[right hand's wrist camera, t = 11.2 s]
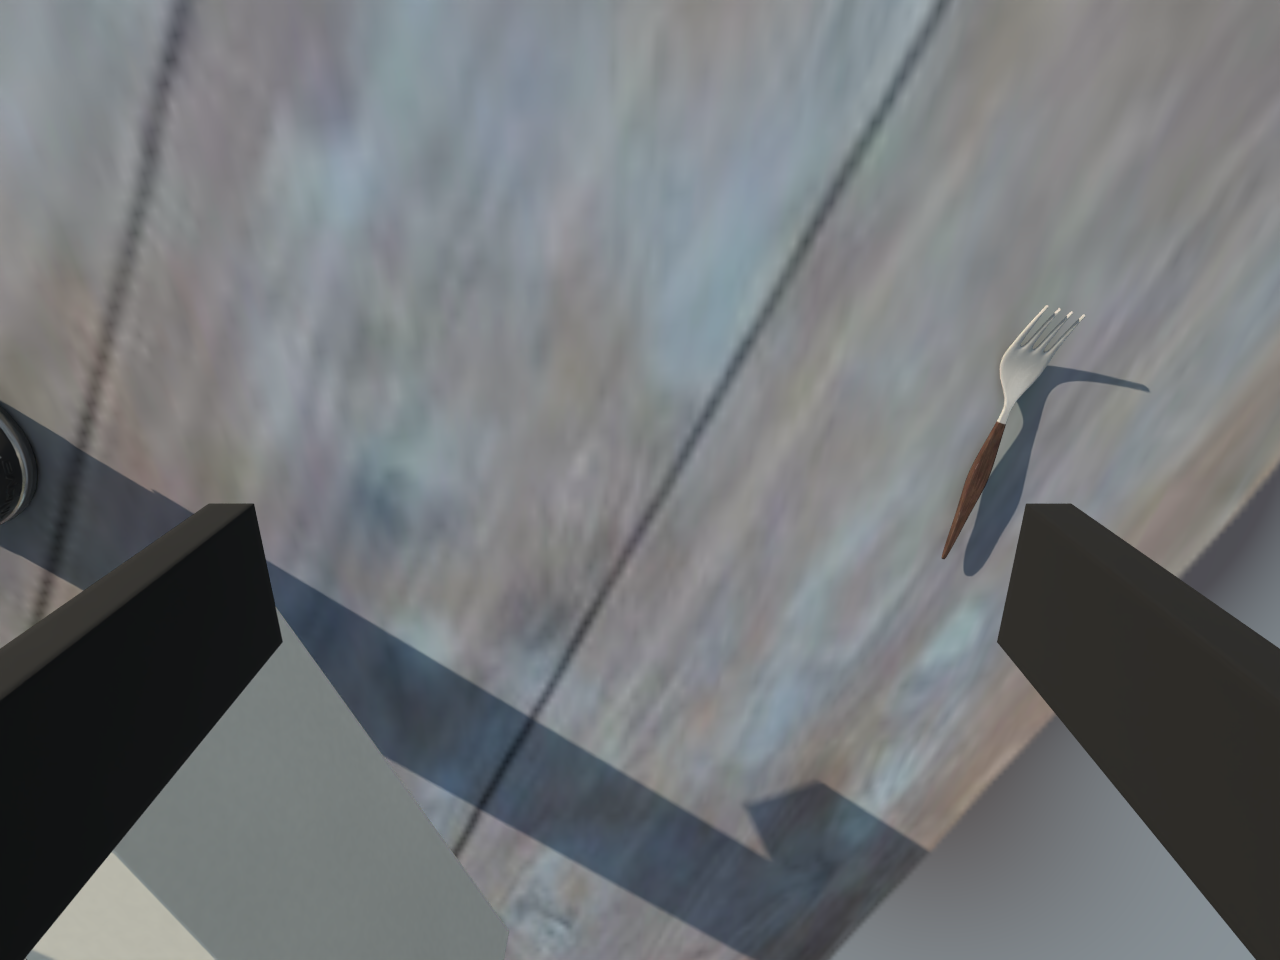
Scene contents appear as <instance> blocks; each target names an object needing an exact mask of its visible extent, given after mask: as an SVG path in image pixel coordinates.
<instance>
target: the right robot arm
mask: <svg viewBox="0 0 1280 960" xmlns="http://www.w3.org/2000/svg"><path fill="white" fill-rule="evenodd" d="M282 642H283V640H282V636H281V631H280V626H279V621H278V616H277V612H276V607H275V602H274V597H273V593H272V588H271V583H270V578H269V573H268V569H267V564H266V559H265V554H264V549H263V545H262V540H261V535H260V530H259V526H258V521H257V516H256V511H255V506H254V504H208V505H206V506H205V507H203V508H202V509H201V510H199V511H198V512H196V513H195V514H193V515H192V516H191V517H189V518H188V519H186V520H185V521H183V522H182V523H180V524H179V525H178V526H176V527H175V528H173V529H172V530H170V531H169V532H168V533H166V534H165V535H163V536H162V537H160V538H159V539H157V540H156V541H155V542H153V543H152V544H150V545H149V546H147V547H146V548H145V549H143V550H142V551H140V552H139V553H137V554H136V555H134V556H133V557H132V558H130V559H129V560H127V561H126V562H124V563H123V564H121V565H120V566H119V567H117V568H116V569H114V570H113V571H111V572H110V573H109V574H107V575H106V576H104V577H103V578H101V579H100V580H98V581H97V582H96V583H94V584H93V585H91V586H90V587H88V588H87V589H86V590H84V591H83V592H81V593H80V594H78V595H77V596H75V597H74V598H73V599H71V600H70V601H68V602H67V603H65V604H64V605H63V606H61V607H60V608H58V609H57V610H55V611H54V612H52V613H51V614H50V615H48V616H47V617H45V618H44V619H42V620H41V621H40V622H38V623H37V624H35V625H34V626H32V627H31V628H29V629H28V630H27V631H25V632H24V633H22V634H21V635H19V636H18V637H17V638H15V639H14V640H12V641H11V642H9V643H8V644H6V645H5V646H4V647H2V648H1V649H0V960H24V959H25V958H26V957H27V955H28V954H29V953H30V952H31V950H32V949H33V948H34V947H35V945H36V944H37V943H38V942H39V941H40V939H41V938H42V937H43V936H44V934H45V933H46V932H47V931H48V930H49V928H50V927H51V926H52V925H53V923H54V922H55V921H56V920H57V918H58V917H59V916H60V915H61V914H62V912H63V911H64V910H65V909H66V907H67V906H68V905H69V904H70V903H71V901H72V900H73V899H74V898H75V896H76V895H77V894H78V893H79V891H80V890H81V889H82V888H83V887H84V885H85V884H86V883H87V882H88V880H89V879H90V878H91V877H92V876H93V874H94V873H95V872H96V871H97V869H98V868H99V867H100V866H101V864H102V863H103V862H104V861H105V860H106V858H107V857H108V856H109V855H110V853H111V852H112V851H113V850H114V849H115V847H116V846H117V845H118V844H119V842H120V841H121V840H122V839H123V837H124V836H125V835H126V834H127V833H128V831H129V830H130V829H131V828H132V826H133V825H134V824H135V823H136V822H137V820H138V819H139V818H140V817H141V815H142V814H143V813H144V812H145V811H146V809H147V808H148V807H149V806H150V804H151V803H152V802H153V801H154V799H155V798H156V797H157V796H158V795H159V793H160V792H161V791H162V790H163V788H164V787H165V786H166V785H167V784H168V782H169V781H170V780H171V779H172V777H173V776H174V775H175V774H176V772H177V771H178V770H179V769H180V768H181V766H182V765H183V764H184V763H185V761H186V760H187V759H188V758H189V757H190V755H191V754H192V753H193V752H194V750H195V749H196V748H197V747H198V745H199V744H200V743H201V742H202V741H203V739H204V738H205V737H206V736H207V734H208V733H209V732H210V731H211V730H212V728H213V727H214V726H215V725H216V723H217V722H218V721H219V720H220V718H221V717H222V716H223V715H224V714H225V712H226V711H227V710H228V709H229V707H230V706H231V705H232V704H233V703H234V701H235V700H236V699H237V698H238V696H239V695H240V694H241V693H242V692H243V690H244V689H245V688H246V687H247V685H248V684H249V683H250V682H251V680H252V679H253V678H254V677H255V676H256V674H257V673H258V672H259V671H260V669H261V668H262V667H263V666H264V665H265V663H266V662H267V661H268V660H269V658H270V657H271V656H272V655H273V653H274V652H275V651H276V650H277V649H278V647H279V646H280V645H281V644H282ZM997 642H998V644H999V645H1000V646H1001V647H1002V649H1003V650H1004V651H1005V652H1006V653H1007V655H1008V656H1009V657H1010V658H1011V660H1012V661H1013V662H1014V663H1015V665H1016V666H1017V667H1018V668H1019V669H1020V671H1021V672H1022V673H1023V674H1024V676H1025V677H1026V678H1027V679H1028V680H1029V682H1030V683H1031V684H1032V685H1033V687H1034V688H1035V689H1036V690H1037V692H1038V693H1039V694H1040V695H1041V696H1042V698H1043V699H1044V700H1045V701H1046V703H1047V704H1048V705H1049V706H1050V707H1051V709H1052V710H1053V711H1054V712H1055V714H1056V715H1057V716H1058V717H1059V718H1060V720H1061V721H1062V722H1063V723H1064V725H1065V726H1066V727H1067V728H1068V730H1069V731H1070V732H1071V733H1072V734H1073V736H1074V737H1075V738H1076V739H1077V741H1078V742H1079V743H1080V744H1081V745H1082V747H1083V748H1084V749H1085V750H1086V752H1087V753H1088V754H1089V755H1090V756H1091V758H1092V759H1093V760H1094V761H1095V763H1096V764H1097V765H1098V766H1099V767H1100V769H1101V770H1102V771H1103V772H1104V774H1105V775H1106V776H1107V777H1108V779H1109V780H1110V781H1111V782H1112V784H1113V785H1114V786H1115V787H1116V788H1117V790H1118V791H1119V792H1120V793H1121V795H1122V796H1123V797H1124V798H1125V799H1126V801H1127V802H1128V803H1129V804H1130V806H1131V807H1132V808H1133V809H1134V811H1135V812H1136V813H1137V814H1138V815H1139V817H1140V818H1141V819H1142V820H1143V822H1144V823H1145V824H1146V825H1147V826H1148V828H1149V829H1150V830H1151V831H1152V833H1153V834H1154V835H1155V836H1156V837H1157V839H1158V840H1159V841H1160V842H1161V844H1162V845H1163V846H1164V847H1165V849H1166V850H1167V851H1168V852H1169V853H1170V855H1171V856H1172V857H1173V858H1174V860H1175V861H1176V862H1177V863H1178V864H1179V866H1180V867H1181V868H1182V869H1183V871H1184V872H1185V873H1186V874H1187V876H1188V877H1189V878H1190V879H1191V880H1192V882H1193V883H1194V884H1195V885H1196V887H1197V888H1198V889H1199V890H1200V891H1201V893H1202V894H1203V895H1204V896H1205V898H1206V899H1207V900H1208V901H1209V902H1210V904H1211V905H1212V906H1213V907H1214V909H1215V910H1216V911H1217V912H1218V914H1219V915H1220V916H1221V917H1222V918H1223V920H1224V921H1225V922H1226V923H1227V925H1228V926H1229V927H1230V928H1231V930H1232V931H1233V932H1234V933H1235V934H1236V936H1237V937H1238V938H1239V939H1240V941H1241V942H1242V943H1243V944H1244V945H1245V947H1246V948H1247V949H1248V950H1249V952H1250V953H1251V954H1252V955H1253V956H1254V958H1255V959H1256V960H1280V649H1279V648H1278V647H1276V646H1275V645H1273V644H1272V643H1271V642H1269V641H1268V640H1266V639H1265V638H1263V637H1262V636H1261V635H1259V634H1258V633H1256V632H1255V631H1253V630H1252V629H1251V628H1249V627H1248V626H1246V625H1245V624H1243V623H1242V622H1240V621H1239V620H1238V619H1236V618H1235V617H1233V616H1232V615H1230V614H1229V613H1227V612H1226V611H1225V610H1223V609H1222V608H1220V607H1219V606H1217V605H1216V604H1215V603H1213V602H1212V601H1210V600H1209V599H1207V598H1206V597H1205V596H1203V595H1202V594H1200V593H1199V592H1197V591H1196V590H1194V589H1193V588H1192V587H1190V586H1189V585H1187V584H1186V583H1184V582H1183V581H1182V580H1180V579H1179V578H1177V577H1176V576H1174V575H1173V574H1171V573H1170V572H1169V571H1167V570H1166V569H1164V568H1163V567H1161V566H1160V565H1159V564H1157V563H1156V562H1154V561H1153V560H1151V559H1150V558H1148V557H1147V556H1146V555H1144V554H1143V553H1141V552H1140V551H1138V550H1137V549H1135V548H1134V547H1133V546H1131V545H1130V544H1128V543H1127V542H1125V541H1124V540H1123V539H1121V538H1120V537H1118V536H1117V535H1115V534H1114V533H1112V532H1111V531H1110V530H1108V529H1107V528H1105V527H1104V526H1102V525H1101V524H1100V523H1098V522H1097V521H1095V520H1094V519H1092V518H1091V517H1089V516H1088V515H1087V514H1085V513H1084V512H1082V511H1081V510H1079V509H1078V508H1077V507H1075V506H1074V505H1072V504H1026V506H1025V511H1024V516H1023V521H1022V526H1021V530H1020V535H1019V540H1018V545H1017V549H1016V554H1015V559H1014V564H1013V569H1012V573H1011V578H1010V583H1009V588H1008V592H1007V597H1006V602H1005V607H1004V612H1003V616H1002V621H1001V626H1000V631H999V636H998V640H997Z"/></svg>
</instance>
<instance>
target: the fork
mask: <svg viewBox="0 0 1280 960" xmlns="http://www.w3.org/2000/svg"><path fill="white" fill-rule="evenodd" d="M1048 307H1049V306H1048V305H1046V306H1045V307H1044V308H1043V309H1042V311H1041V312H1040V313H1039V314H1038V315H1037V316H1036V317H1035V318H1034V319H1033V320H1032V321H1031V322H1030V324H1029V325H1028V326H1027V327H1026V328H1025V329H1024V330H1023V331H1022V333H1021V334H1020V335H1019V336H1018V337H1017V339H1016V340H1015V341H1014V342H1013V344H1012V345H1011V346H1010V347H1009V348H1008V350H1007V351H1006V353H1005V354H1004V356H1003V358H1002V360H1001V364H1000V379H1001V383H1002V388H1003V392H1004V399H1005V403H1004V407H1003V410H1002V412H1001V414H1000V416H999V418H998V420H997V422H996V424H995V425H994V427H993V429H992V431H991V432H990V434H989V436H988V438H987V439H986V441H985V443H984V445H983V446H982V448H981V450H980V452H979V454H978V455H977V457H976V459H975V461H974V463H973V465H972V467H971V469H970V471H969V474H968V476H967V479H966V482H965V485H964V488H963V491H962V494H961V498H960V501H959V504H958V508H957V511H956V514H955V517H954V520H953V523H952V526H951V529H950V532H949V535H948V538H947V541H946V544H945V547H944V550H943V554H942V559H945V558H946V557H947V555H948V553H949V552H950V550H951V548H952V546H953V545H954V543H955V541H956V539H957V537H958V535H959V533H960V532H961V530H962V528H963V526H964V524H965V522H966V520H967V518H968V517H969V515H970V513H971V511H972V509H973V508H974V506H975V504H976V502H977V500H978V499H979V497H980V495H981V493H982V491H983V489H984V487H985V485H986V483H987V481H988V478H989V476H990V473H991V470H992V467H993V464H994V461H995V458H996V455H997V451H998V448H999V445H1000V441H1001V438H1002V435H1003V431H1004V428H1005V425H1006V422H1007V419H1008V416H1009V413H1010V411H1011V409H1012V407H1013V405H1014V404H1015V402H1016V401H1017V400H1018V399H1019V398H1020V396H1021V395H1022V394H1023V393H1024V392H1025V391H1026V390H1027V389H1028V388H1029V387H1030V386H1031V385H1032V384H1033V383H1034V382H1035V381H1036V380H1037V378H1038V377H1039V376H1040V375H1041V373H1042V372H1043V371H1044V369H1045V368H1046V366H1047V365H1048V363H1049V362H1050V360H1051V358H1052V357H1053V355H1054V354H1055V352H1056V351H1057V350H1058V348H1059V347H1060V346H1061V344H1062V343H1063V342H1064V341H1065V339H1066V338H1067V337H1068V336H1069V334H1070V333H1071V332H1072V331H1073V330H1074V328H1075V327H1076V326H1077V325H1078V324H1079V323H1080V321H1081V320H1082V319H1083V318H1084V317H1085V314H1083V315H1082V316H1081V317H1080V318H1079V319H1078V320H1077V321H1076V322H1075V323H1074V324H1073V325H1072V326H1071V327H1070V328H1069V329H1068V330H1067V331H1066V332H1065V333H1064V334H1063V335H1062V337H1061V338H1060V339H1059V340H1058V341H1057V342H1056V343H1055V344H1054V345H1053V346H1052V347H1051V348H1050V349H1049V350H1048V351H1046V352H1044V349H1045V347H1046V346H1047V344H1048V343H1049V342H1050V340H1051V339H1052V338H1053V337H1054V335H1055V334H1056V333H1057V332H1058V330H1059V329H1060V328H1061V327H1062V325H1063V324H1064V323H1065V322H1066V321H1067V319H1068V318H1069V317H1070V316H1071V315H1072V314H1073V312H1072V311H1071V312H1070V313H1069V314H1068V315H1067V316H1066V317H1065V318H1064V319H1063V320H1062V321H1061V322H1060V323H1059V324H1058V325H1057V326H1056V327H1055V328H1054V329H1053V331H1052V332H1051V333H1050V334H1049V335H1048V336H1047V337H1046V338H1045V339H1044V340H1043V341H1042V343H1041V344H1040V345H1039V346H1038V347H1037V348H1035V349H1032V347H1033V345H1034V343H1035V342H1036V340H1037V339H1038V338H1039V336H1040V335H1041V334H1042V332H1043V331H1044V330H1045V329H1046V327H1047V326H1048V325H1049V324H1050V322H1051V321H1052V320H1053V319H1054V317H1055V316H1056V315H1057V314H1058V313H1059V311H1060V308H1059V309H1058V310H1057V311H1056V312H1055V313H1054V314H1053V315H1052V316H1051V317H1050V318H1049V319H1048V320H1047V321H1046V322H1045V323H1044V324H1043V325H1042V327H1041V328H1040V329H1039V330H1038V331H1037V332H1036V333H1035V334H1034V335H1033V337H1032V338H1031V339H1030V340H1029V341H1028V342H1027V343H1026V344H1025V345H1023V346H1021V342H1022V341H1023V339H1024V338H1025V336H1026V335H1027V334H1028V332H1029V331H1030V330H1031V328H1032V327H1033V326H1034V324H1035V323H1036V322H1037V320H1038V319H1039V318H1040V316H1041V315H1042V314H1043V313H1044V312H1045V310H1046V309H1047V308H1048Z"/></svg>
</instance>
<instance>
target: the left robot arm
mask: <svg viewBox="0 0 1280 960" xmlns="http://www.w3.org/2000/svg"><path fill="white" fill-rule="evenodd" d="M36 485H37V466H36V461H35V456H34V453H33V451H32V448H31V446H30V443H29V441H28V440H27V438H26V436H25V434H24V433H23V431H22V430H21V428H20V427H19V426H18V424H17V423H16V422H15V420H14V419H13V418H12V417H11V416H10V415H9V414H8V413H7V412H6V411H5V410H4V409H3V408H2V407H1V406H0V525H1V524H3V523H5V522H7V521H9V520H11V519H13V518H14V517H16V516H17V515H19V514H20V513H21V512H22V511H23V510H24V509H25V508H26V507H27V506H28V504H29V503H30V502H31V500H32V498H33V496H34V493H35V490H36Z"/></svg>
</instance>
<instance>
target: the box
mask: <svg viewBox="0 0 1280 960" xmlns="http://www.w3.org/2000/svg"><path fill="white" fill-rule="evenodd" d="M275 607H276V606H275ZM276 612H277V616H278V621H279V626H280V631H281V636H282V640H283V642H282V644H281V645H280V646H279V647H278V649H277V650H276V651H275V652H274V653H273V655H272V656H271V657H270V658H269V660H268V661H267V662H266V663H265V665H264V666H263V667H262V668H261V669H260V671H259V672H258V673H257V674H256V676H255V677H254V678H253V679H252V680H251V682H250V683H249V684H248V685H247V687H246V688H245V689H244V690H243V692H242V693H241V694H240V695H239V696H238V698H237V699H236V700H235V701H234V703H233V704H232V705H231V706H230V707H229V709H228V710H227V711H226V712H225V714H224V715H223V716H222V717H221V718H220V720H219V721H218V722H217V723H216V725H215V726H214V727H213V728H212V730H211V731H210V732H209V733H208V734H207V736H206V737H205V738H204V739H203V741H202V742H201V743H200V744H199V745H198V747H197V748H196V749H195V750H194V752H193V753H192V754H191V755H190V757H189V758H188V759H187V760H186V761H185V763H184V764H183V765H182V766H181V768H180V769H179V770H178V771H177V772H176V774H175V775H174V776H173V777H172V779H171V780H170V781H169V782H168V784H167V785H166V786H165V787H164V788H163V790H162V791H161V792H160V793H159V795H158V796H157V797H156V798H155V799H154V801H153V802H152V803H151V804H150V806H149V807H148V808H147V809H146V811H145V812H144V813H143V814H142V815H141V817H140V818H139V819H138V820H137V822H136V823H135V824H134V825H133V826H132V828H131V829H130V830H129V831H128V833H127V834H126V835H125V836H124V837H123V839H122V840H121V841H120V842H119V844H118V845H117V846H116V847H115V849H114V850H113V851H112V852H111V853H110V855H109V856H108V857H107V858H106V860H105V861H104V862H103V863H102V864H101V866H100V867H99V868H98V869H97V871H96V872H95V873H94V874H93V876H92V877H91V878H90V879H89V880H88V882H87V883H86V884H85V885H84V887H83V888H82V889H81V890H80V891H79V893H78V894H77V895H76V896H75V898H74V899H73V900H72V901H71V903H70V904H69V905H68V906H67V907H66V909H65V910H64V911H63V912H62V914H61V915H60V916H59V917H58V918H57V920H56V921H55V922H54V923H53V925H52V926H51V927H50V928H49V930H48V931H47V932H46V933H45V934H44V936H43V937H42V938H41V939H40V941H39V942H38V943H37V944H36V945H35V947H34V948H33V949H32V950H31V952H30V953H29V954H28V955H27V957H26V959H27V960H504V958H505V952H506V946H507V940H508V934H509V930H508V929H507V927H506V926H505V925H504V923H503V922H502V920H501V919H500V918H499V916H498V915H497V913H496V912H495V911H494V909H493V908H492V906H491V905H490V904H489V902H488V901H487V900H486V898H485V897H484V895H483V894H482V893H481V891H480V890H479V888H478V887H477V886H476V884H475V883H474V881H473V880H472V879H471V877H470V876H469V875H468V873H467V872H466V870H465V869H464V868H463V866H462V865H461V863H460V862H459V861H458V859H457V858H456V856H455V855H454V854H453V852H452V851H451V850H450V848H449V847H448V845H447V844H446V843H445V841H444V840H443V838H442V837H441V836H440V834H439V833H438V831H437V830H436V829H435V827H434V826H433V825H432V823H431V822H430V820H429V819H428V818H427V816H426V815H425V813H424V812H423V811H422V809H421V808H420V806H419V805H418V804H417V802H416V801H415V800H414V798H413V797H412V795H411V794H410V793H409V791H408V790H407V788H406V787H405V786H404V784H403V783H402V781H401V780H400V779H399V777H398V776H397V774H396V773H395V772H394V770H393V769H392V768H391V766H390V765H389V763H388V762H387V761H386V759H385V758H384V756H383V755H382V754H381V752H380V751H379V749H378V748H377V747H376V745H375V744H374V743H373V741H372V740H371V738H370V737H369V736H368V734H367V733H366V731H365V730H364V729H363V727H362V726H361V724H360V723H359V722H358V720H357V719H356V718H355V716H354V715H353V713H352V712H351V711H350V709H349V708H348V706H347V705H346V704H345V702H344V701H343V699H342V698H341V697H340V695H339V694H338V693H337V691H336V690H335V688H334V687H333V686H332V684H331V683H330V681H329V680H328V679H327V677H326V676H325V674H324V673H323V672H322V670H321V669H320V668H319V666H318V665H317V663H316V662H315V661H314V659H313V658H312V656H311V655H310V654H309V652H308V651H307V649H306V648H305V647H304V645H303V644H302V642H301V641H300V640H299V638H298V637H297V636H296V634H295V633H294V631H293V630H292V629H291V627H290V626H289V624H288V623H287V622H286V620H285V619H284V617H283V616H282V615H281V613H280V612H279V611H278V609H277V608H276Z"/></svg>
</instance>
